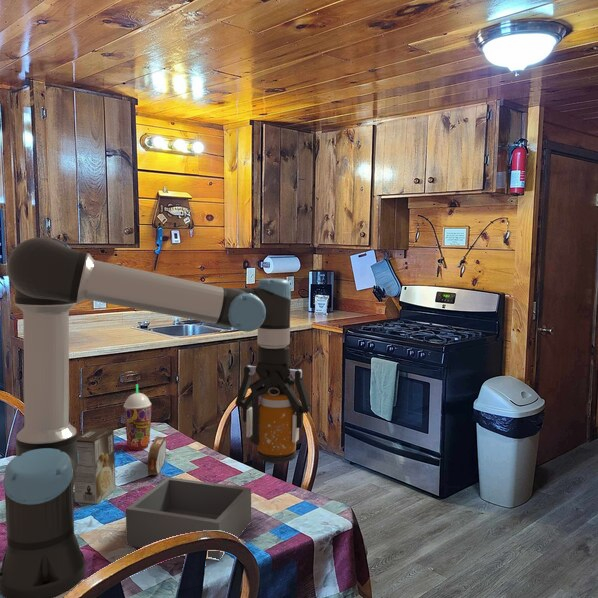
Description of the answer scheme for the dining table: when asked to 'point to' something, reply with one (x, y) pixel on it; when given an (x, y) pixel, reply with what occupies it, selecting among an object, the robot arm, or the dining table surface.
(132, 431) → the smoothie
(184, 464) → the dining table surface
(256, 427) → the canister
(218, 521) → the bin
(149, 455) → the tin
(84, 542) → the dining table surface
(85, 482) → the coffee box
